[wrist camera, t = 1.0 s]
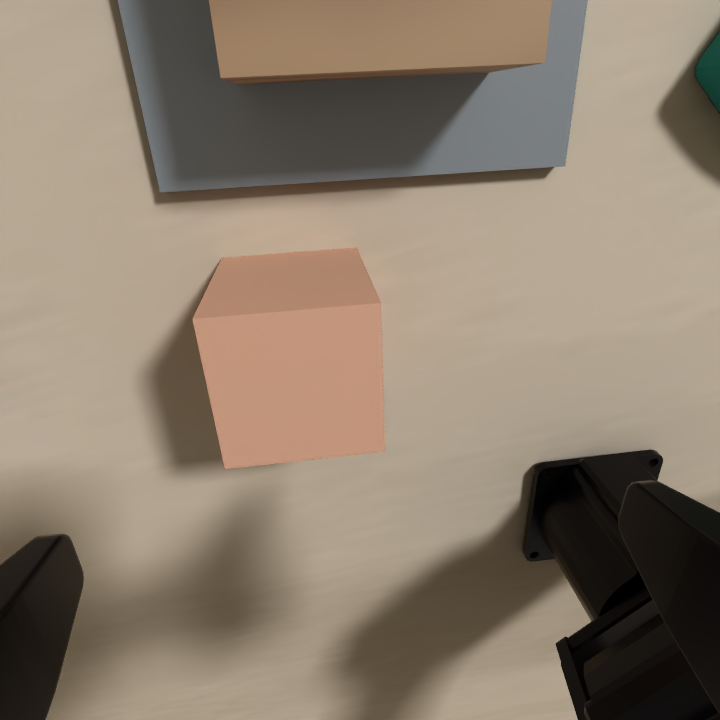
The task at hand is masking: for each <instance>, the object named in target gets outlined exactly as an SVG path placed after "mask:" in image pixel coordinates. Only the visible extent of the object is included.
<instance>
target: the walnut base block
mask: <svg viewBox="0 0 720 720" xmlns="http://www.w3.org/2000/svg"><path fill="white" fill-rule="evenodd" d="M551 4H552V0H209V5H210V12H211V18H212V25H213V31H214V38H215V44H216V51H217V57H218V64H219V71H220V77H221V78H222V79H225V80H227V81H230V82H232V83H235V84H237V85H239V84H260V83H281V82H302V81H323V80H344V79H365V78H387V77H408V76H429V75H450V74H471V73H490V72H496V71H502V70H507V69H513V68H519V67H525V66H530V65H536V64H542V63H545V59H546V50H547V41H548V31H549V22H550V13H551Z"/></svg>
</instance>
